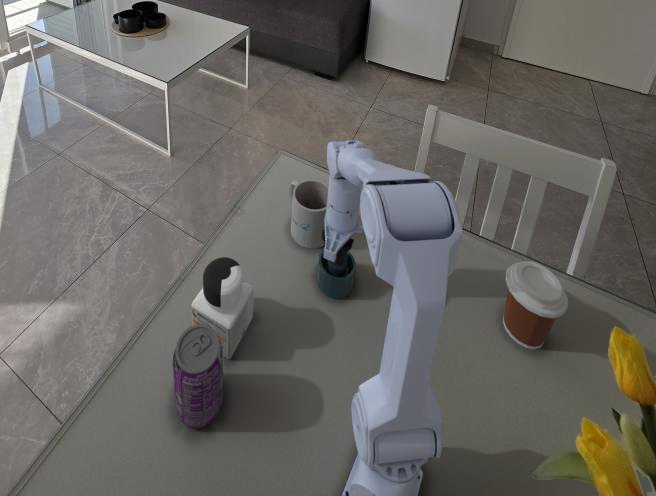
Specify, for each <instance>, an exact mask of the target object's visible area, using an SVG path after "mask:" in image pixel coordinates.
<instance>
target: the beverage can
mask: <svg viewBox="0 0 656 496" xmlns="http://www.w3.org/2000/svg"><path fill="white" fill-rule="evenodd" d="M172 373H173V377H172V378H173V391H174V392H173V393H174V406H175V412H176V413H175V414H176V415H177V418H178V420H179V421H180V422H181V423H182V424H183V425H184V426H185V427H187V428H190V429H194V430H195V429H202V428H204V427H207V426H208V425H210V424H211V423H212V422H213V421H214V420H215V419H216V418H217V416H218V414H219V413H220V411H221V410H222V409H221V408H222V406H223V401H224V356H223V351H222V346H221V343H220V341H219V339H218V336H217V334H216V332H215V331H214V330H213V329H212V328H211V327H209V326H207V325H204V324H197V325H193V326H192V325H191V326H189V327H188V328H186V329H185V330H184V331H183V332H182V333H181V334H180V336H179V337H178V339H177V341H176V345H175V348H174V350H173V355H172Z"/></svg>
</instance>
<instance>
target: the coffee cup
mask: <svg viewBox="0 0 656 496" xmlns="http://www.w3.org/2000/svg"><path fill="white" fill-rule="evenodd" d="M505 283H506V286H507V290H506V291H507V292H506V297H505V306H504V311H503V315H502V317H503V318H502V324H503V326H504V329H505V331H506V332H507V334H508V335H509V337H510V338H511V339H513V341H515V342H516V343H517V344H518V345H519V346H522V347H523V348H525V349H529V350H537V349H541V348H542V347H543V345H544V344H545V341H546V339H547V337H548V335H549V333H550V331H551V329H552V328H553V325H554V323H555V322H556V320H557V318H559V317H562V316H564V314H565V313H566V311H567V309H568V307H569V306H568V296H567V294H566V292H565V290H564V288H563V286H562V284H561V282H560V280H559V278H558V277H557V276H556V275H555V274H554V273H553V272H552V271H550V269H548V268H547V267H545V266H544V265H542V264H539V263H537V262H535V261H531V260H523V261H519V262H514V263H511V264H510V265H509V266H508V268H507V269H506V271H505Z"/></svg>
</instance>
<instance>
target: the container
mask: <svg viewBox="0 0 656 496" xmlns="http://www.w3.org/2000/svg"><path fill="white" fill-rule="evenodd" d="M243 276H244V274H243V269H242V267H241V264H240V263H239V262H238V261H237V260H235V259H234V258H231V257H228V256H227V257H226V256H222V257H218V258H215V259H213V260H212V261H210V262H209V263H208V264H207V265H206V267H205V268H204V270H203V273H202V288H201V289H200V290H199V292H198V294H197V295H196V297H195V298H194V299H193V301H192V302H191V326H193V325H197V324H204V325H207V326H209V327H211V328H212V329H213V330H214V331H215V332H216V334H217V336H218V339H219V341H220V343H221V346H222V351H223V358H226V359H228V360H231V359H232V357H233V355H234V353H235V351H236V349H237V348H238V346H239V345H240V342H241V341H242V338H243V337H244V335H245V333H246V331H247V329H248V327H249V325H250V323H251V322H252V320H253V318H254V286H253V285H251V284H250V283H248V282H246V281H244V280H243V278H244V277H243Z"/></svg>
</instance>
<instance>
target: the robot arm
mask: <svg viewBox="0 0 656 496" xmlns="http://www.w3.org/2000/svg"><path fill="white" fill-rule="evenodd" d="M326 163H327V169H328V172H329V178H328V186H329V187H328V199H327V210H326V214H325V220H324V221H325V226H324V229H323V231H322V240H323V241H324V242H325V245H324V248H323V249H324V257H323V258H325V259H327V260H330V261H332V262H335V263H337V264H339V265H341V264H342V262H343V259H344V256H345V254H346V252H347V251H349V252H350V250H351V249H352V248H353V245H354V241H355V239H354V238H353V236H354V235H355V234H359V235H361V234H363V231H364V234H365V238H366V242H367V246H368V251H369V257H370V260H371V262H372V265H373V266H374V270H375V275H376V277H378V278H379V279H381V280H383V281H384V282H385V283H388V284H389V285H391V286H392V287H393V289H392V294H391V295H392V296H391V300H390V301H391V303H390V308H389V312H388V313H389V315H388V319H387V326H386V331H385V338H384V344H383V349H382V350H383V351H382V355H381V361H380V368H379V373H377V374H376V375H374V376H373V377H371V378H369V379H367V380H366V381H364V382H362V383H361V384H360V385H359V386H358V390H357V392H355V393H354V395H353V398H352V400H351V406H350V407H351V409H350V411H351V424H352V430H353V437H354V441H355V446H356V450H357V455H356V457H355V460H354V463H353V465H352V468H351V470H350V472H349V475H348V479H347V481H346V484H345V487H344V489H343V491H342V495H341V496H347V495H346V494H348V496H418V495H419V492H420V488H421V485H422V481H423V477H424V472H423V470H422V469H421V467H422V466H423V465H424V464H427V463H428V461H429V459H430V458H432V459H433V460H437V459H440V458H441V455H442V451H443V448H444V437H443V436H444V435H443V423H444V421H443V416H442V412H441V409H440V405H439V402H438V399H437V397H436V395H435V392H434V390H433V388H432V386H431V383H430V381H429V380H430V377H431V373H432V372H431V371H432V369H433V363H434V359H435V354H436V350H437V346H438V340H439V336H440V332H441V326H442V324H443V318H444V313H445V309H446V302H447V292H448V282H449V281H448V279H449V277H450V276H451V275H452V274H453V272H455V270H456V266H457V262H458V257H459V253H460V248H461V243H462V239H463V236H464V231H463V223H462V221H461V216H460V212H459V207H458V204H457V200H456V199H455V196H454V195H453V193H452V191H451V190H450V189H449V188H448V186H447V185H446V184H445V183H443V181H439V180H433V181H432V182H431V180H432V177H431V176H429V175H428V174H426V173H422V172H418V171H414V170H409V169H405V168H402V167H398V166H395V165H392V164H388V163H385V162H382V161H381V159H380V156H379V155H378V154H377V152H375V151H373V150H372V149H370V148H368V147H367V144H365V142H362V141H360V140H354V139H348V140H346V141H330V142H328V144H327V147H326ZM359 211H360V218H361V221H360V220H359Z"/></svg>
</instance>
